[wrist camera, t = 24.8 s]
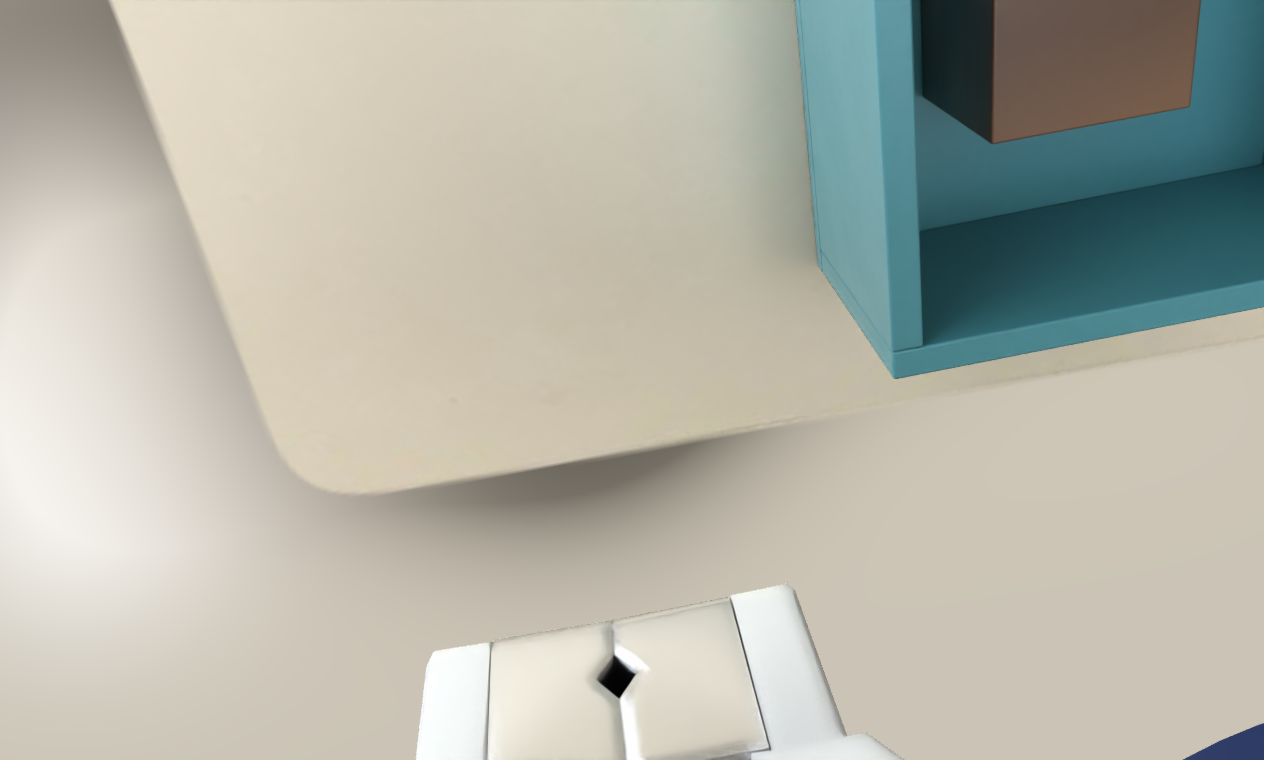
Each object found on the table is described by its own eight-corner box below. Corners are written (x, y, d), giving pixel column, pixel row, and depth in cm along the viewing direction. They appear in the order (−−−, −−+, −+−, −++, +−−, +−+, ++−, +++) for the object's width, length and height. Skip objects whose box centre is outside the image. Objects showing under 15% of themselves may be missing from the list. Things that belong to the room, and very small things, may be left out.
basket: (1270, 177, 32) (1463, 269, 26) (817, 266, 32) (893, 380, 26) (1350, -386, 25) (1645, -461, 19) (770, -273, 25) (858, -307, 19)
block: (1092, 65, 29) (1191, 108, 25) (922, 98, 29) (991, 145, 25) (1102, -125, 27) (1214, -115, 23) (917, -90, 27) (993, -74, 23)
